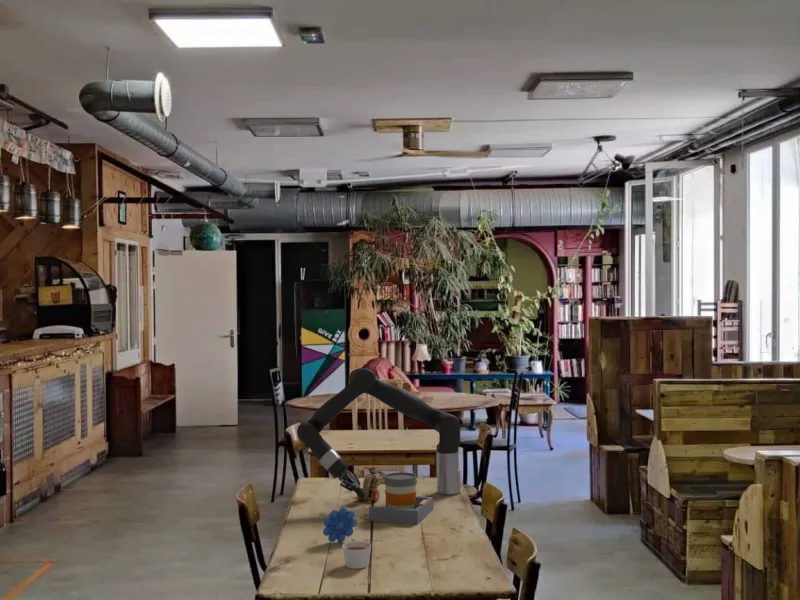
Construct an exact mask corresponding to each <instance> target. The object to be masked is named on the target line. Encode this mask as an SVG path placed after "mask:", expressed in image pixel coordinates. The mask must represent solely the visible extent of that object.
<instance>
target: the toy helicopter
mask: <svg viewBox="0 0 800 600" xmlns="http://www.w3.org/2000/svg"><path fill="white" fill-rule="evenodd" d="M362 468H364V469H368V473H369V474H366V475H365V477H364V479H363V483H362V488H361V487H360V488H361V489H362V490H363V491H364V492H365V493H366V495H365V496H364V497H363V498H360V497H359V496H358V495H357V494H356V498H357V500H358V501H362V502H363V501H364V499H367V500H368V499H371V501H372V502H375V503H377V502H378V501H379V498H380V492H379V491H380V490H378V487H379V486H380V485H385V484H384V479H385V475H387V474H386V473H384V472H382V471H381V470H377V468H376V467H375V466H371V467H369V466H363V467H362ZM376 475H378V476H376Z"/></svg>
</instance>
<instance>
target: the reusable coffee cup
mask: <svg viewBox="0 0 800 600" xmlns="http://www.w3.org/2000/svg"><path fill="white" fill-rule="evenodd" d="M417 484H418V480H417V475H416V474H415V473H411V472H391V473H387V474H386V475H385V479H384V484H383V485H384V486H385V490H384V493H385V503H386V502H387V504H388V507H389V508H402V509H414V503H415V500H416V496H417Z"/></svg>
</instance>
